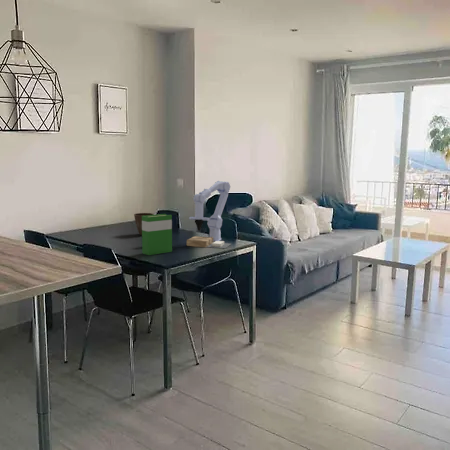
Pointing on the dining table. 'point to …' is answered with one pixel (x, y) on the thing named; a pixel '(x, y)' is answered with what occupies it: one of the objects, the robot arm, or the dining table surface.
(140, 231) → the plant pot
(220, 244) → the cream tile
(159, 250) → the green cereal box
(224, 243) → the charcoal mat
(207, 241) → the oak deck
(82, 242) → the dining table surface
